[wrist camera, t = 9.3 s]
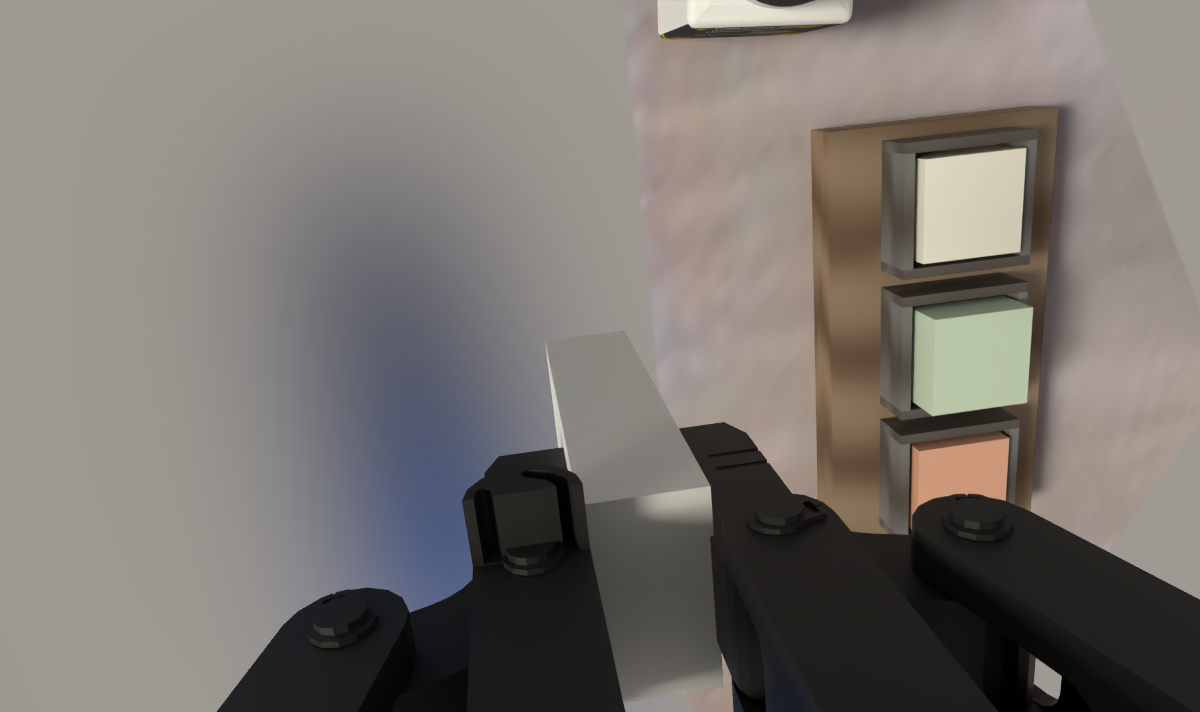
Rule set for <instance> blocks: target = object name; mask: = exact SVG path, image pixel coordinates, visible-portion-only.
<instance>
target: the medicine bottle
mask: <svg viewBox="0 0 1200 712" xmlns="http://www.w3.org/2000/svg"><path fill="white" fill-rule="evenodd" d="M852 10H853V0H658V32H659V35H660V36H661V37H662V38H664V39H682V38H712V37H741V36H771V35H793V34H798V33H802V32H807V31H811V30H816V29H821V28H825V27H830V26H834V25H839V24H843V23H846V22H848V21H849V20H850V18H851V16H852Z"/></svg>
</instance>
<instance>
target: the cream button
mask: <svg viewBox="0 0 1200 712" xmlns="http://www.w3.org/2000/svg"><path fill="white" fill-rule="evenodd" d="M1025 163H1026V148H1021V147H1010V146H999V145H994V146H985V147H976V148H967V149H958V150H950V151H941V152H932V153H923V154H915V200H914V253H913V260H914V261H916V262H919V263H921V264H928V263H936V262H944V261H952V260H960V259H968V258H976V257H984V256H992V255H1000V254H1008V253H1016V252H1020V247H1021V231H1022V214H1023V197H1024V180H1025Z"/></svg>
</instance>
